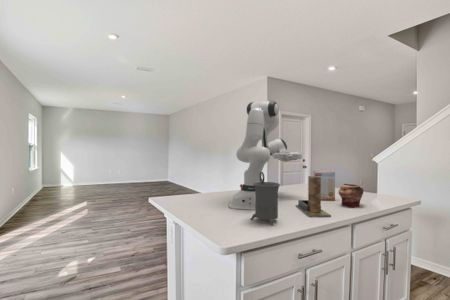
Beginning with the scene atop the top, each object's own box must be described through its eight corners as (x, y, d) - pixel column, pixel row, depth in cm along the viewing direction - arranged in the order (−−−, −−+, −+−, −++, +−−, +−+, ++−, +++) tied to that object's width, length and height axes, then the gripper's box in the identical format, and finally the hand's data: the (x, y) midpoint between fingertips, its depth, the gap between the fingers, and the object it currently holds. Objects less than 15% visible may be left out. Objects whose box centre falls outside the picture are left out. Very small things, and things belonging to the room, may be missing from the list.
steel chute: (309, 217, 135) (309, 209, 135) (295, 206, 160) (295, 200, 160) (331, 217, 136) (331, 209, 136) (313, 206, 161) (313, 200, 161)
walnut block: (311, 212, 141) (312, 177, 141) (308, 209, 147) (308, 176, 147) (320, 212, 141) (320, 177, 141) (316, 209, 147) (316, 176, 147)
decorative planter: (353, 202, 173) (353, 182, 173) (370, 206, 162) (370, 184, 162) (333, 205, 164) (333, 184, 164) (349, 209, 153) (350, 187, 153)
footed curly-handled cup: (286, 225, 121) (287, 174, 121) (258, 227, 118) (258, 175, 118) (272, 215, 140) (272, 170, 139) (247, 216, 137) (247, 171, 137)
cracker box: (332, 199, 183) (332, 171, 183) (335, 201, 177) (335, 171, 177) (312, 198, 185) (313, 170, 184) (315, 200, 179) (315, 171, 178)
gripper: (271, 151, 187) (275, 151, 173) (298, 151, 187) (304, 151, 173) (271, 159, 187) (275, 160, 173) (298, 159, 187) (304, 160, 173)
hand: (290, 156), depth 173 cm, fingers closed
